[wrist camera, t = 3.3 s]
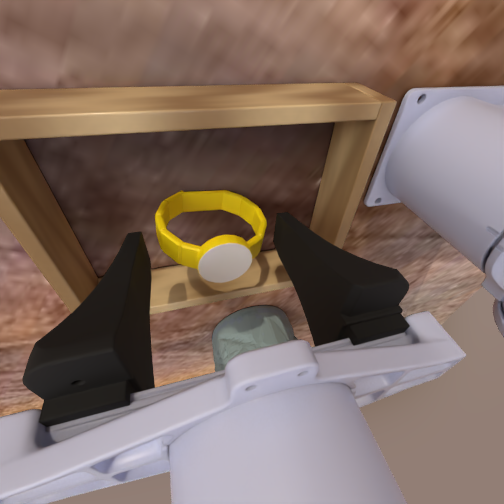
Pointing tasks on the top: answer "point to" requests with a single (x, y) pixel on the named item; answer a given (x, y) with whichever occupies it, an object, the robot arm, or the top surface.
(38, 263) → the box
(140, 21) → the top surface
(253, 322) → the green embossed cup
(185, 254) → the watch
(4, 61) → the top surface
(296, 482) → the robot arm
